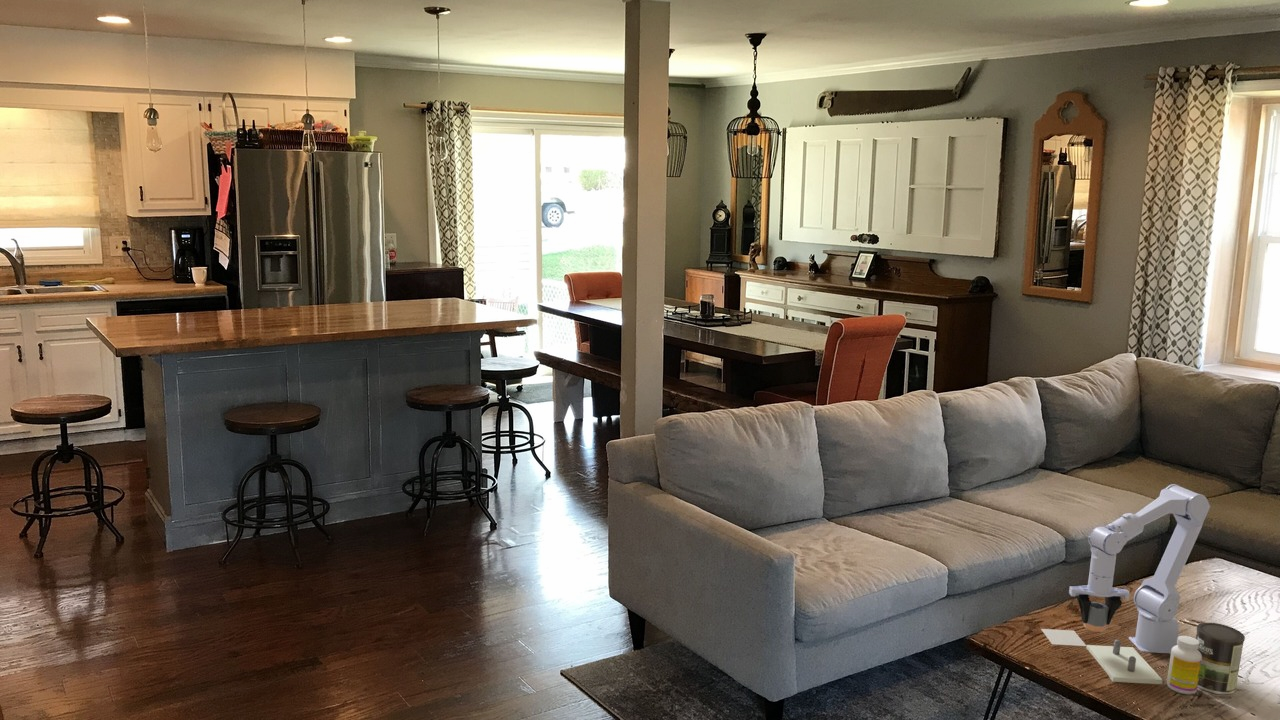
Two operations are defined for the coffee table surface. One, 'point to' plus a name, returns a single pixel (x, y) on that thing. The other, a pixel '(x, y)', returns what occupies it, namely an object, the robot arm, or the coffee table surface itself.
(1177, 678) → the supplement bottle
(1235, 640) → the coffee can
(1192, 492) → the robot arm
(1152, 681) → the pin board
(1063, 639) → the pad
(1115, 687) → the coffee table surface
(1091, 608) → the sleeve
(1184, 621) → the coffee table surface
